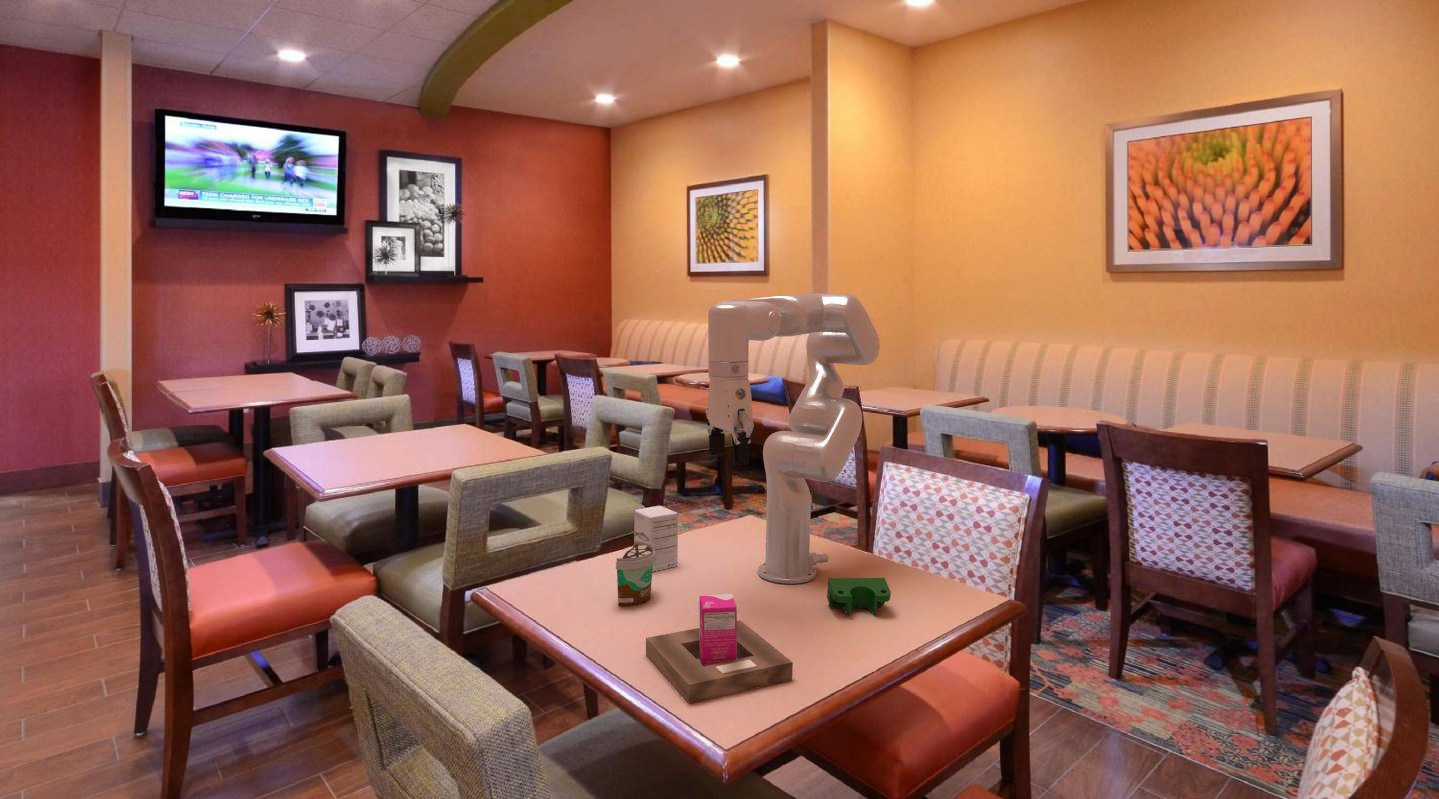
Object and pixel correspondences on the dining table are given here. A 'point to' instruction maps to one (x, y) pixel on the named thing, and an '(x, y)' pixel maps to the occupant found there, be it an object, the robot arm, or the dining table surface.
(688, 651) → the hole board
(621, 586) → the food container
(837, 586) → the clamp
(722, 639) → the supplement box
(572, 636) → the dining table surface
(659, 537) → the supplement box
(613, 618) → the dining table surface
